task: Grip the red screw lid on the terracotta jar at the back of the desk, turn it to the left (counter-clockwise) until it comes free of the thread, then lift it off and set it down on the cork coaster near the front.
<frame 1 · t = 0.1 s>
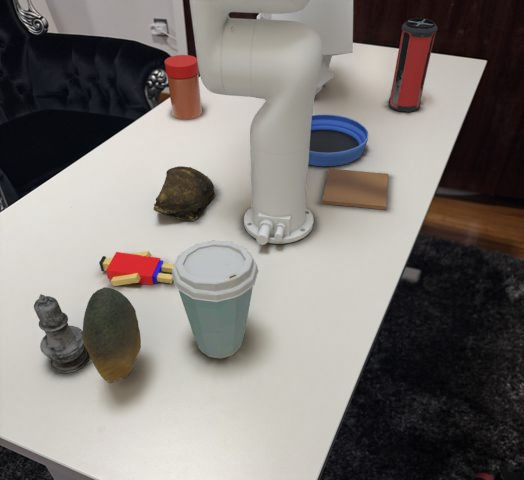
toy figure: (139, 275, 81), on the table
speaker: (403, 107, 122), on the table
coaster: (355, 190, 97), on the table
jar: (187, 113, 121), on the table
seashell: (188, 206, 94), on the table
grey chess piece: (71, 359, 69), on the table
mango: (126, 379, 66), on the table
disposable coffee cup: (222, 342, 71), on the table
jagged white slab: (298, 93, 129), on the table
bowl: (324, 149, 108), on the table
lid: (181, 63, 112), point 11 cm above the table, screwed on, not yet turned
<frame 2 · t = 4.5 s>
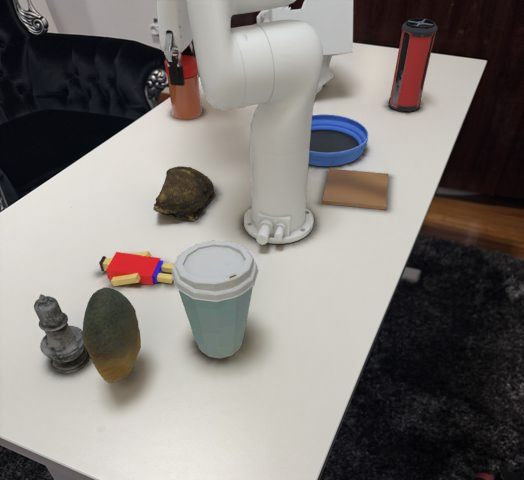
hand: (183, 77, 115), 8 cm above the table, tool pointing down, fingers closed on lid, 7 cm apart
lid: (181, 63, 112), point 11 cm above the table, screwed on, not yet turned, touching gripper
everything else where it was.
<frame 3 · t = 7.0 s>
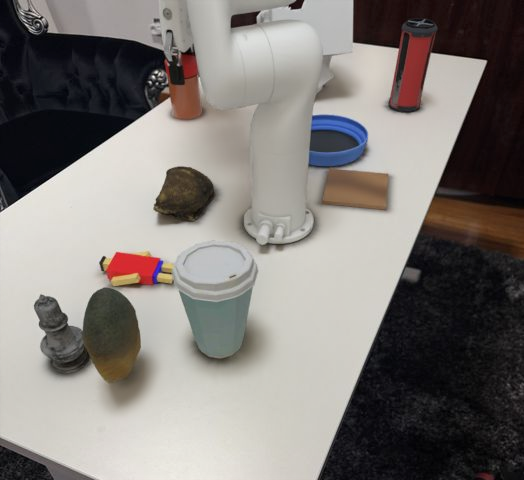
hand: (183, 77, 114), 8 cm above the table, tool pointing down, fingers closed on lid, 7 cm apart
jar: (187, 113, 121), on the table, touching gripper
lid: (181, 63, 112), point 11 cm above the table, off its thread, touching gripper
everything else where it was.
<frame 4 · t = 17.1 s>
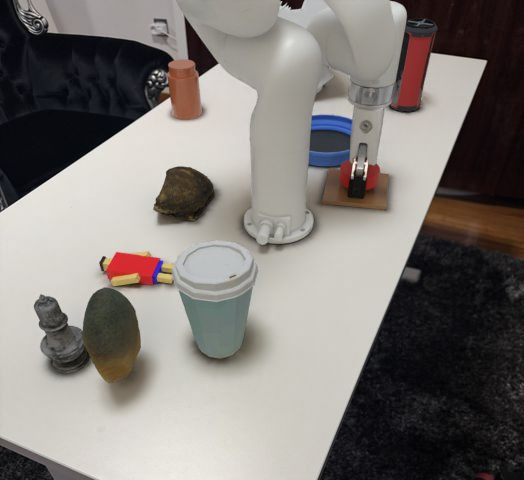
hand: (357, 185, 96), 1 cm above the table, tool pointing down, fingers closed on lid, 7 cm apart
jar: (187, 113, 121), on the table
lid: (359, 171, 94), point 4 cm above the table, off its thread, touching gripper
everything else where it was.
when the fingers open (3 cm above the table, at t = 32.2 s): lid drops 3 cm, resting on coaster.
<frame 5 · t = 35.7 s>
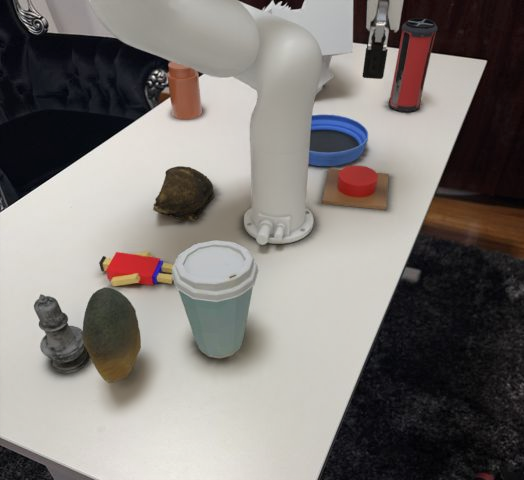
hand: (374, 66, 80), 22 cm above the table, tool pointing down, fingers open, 9 cm apart
lid: (357, 178, 95), point 3 cm above the table, off its thread, touching coaster
everything else where it was.
at the end: lid inside the target area on the coaster (0.2 cm from its centre), point 2.7 cm above the coaster's base; jar tilted 0°; jar moved 0.0 cm from its start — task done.
